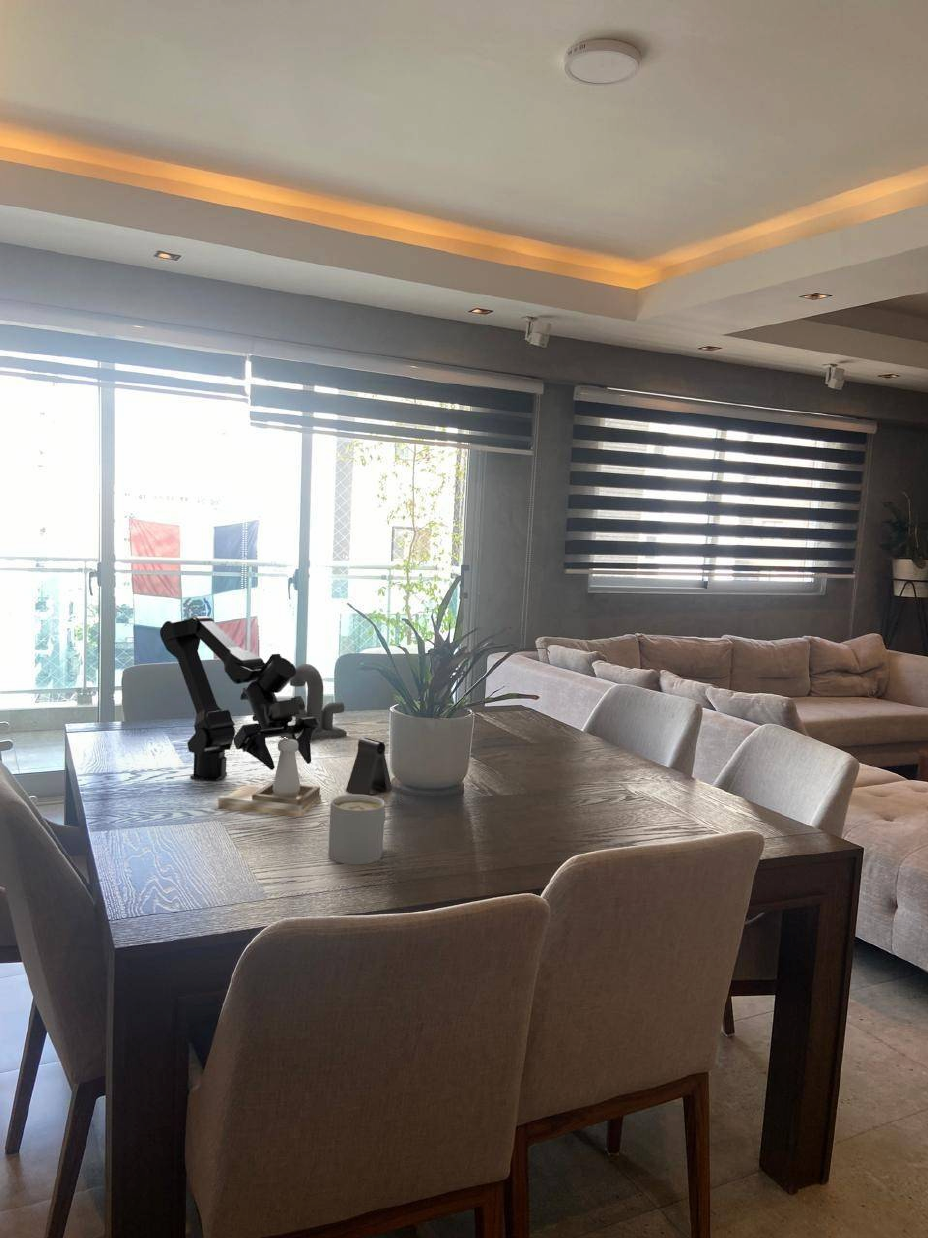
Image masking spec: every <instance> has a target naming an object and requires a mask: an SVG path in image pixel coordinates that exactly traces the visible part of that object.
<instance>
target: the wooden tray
mask: <svg viewBox="0 0 928 1238" xmlns="http://www.w3.org/2000/svg"><path fill="white" fill-rule="evenodd" d="M273 783H274V780H272V781H271V782H269V783H267V784H266V785H265V786H263V787H262V786H261V787H259V786H251V785H243V786H241V787H239V788H238V789H236V790H235V791H233V792H232V793H230V794H228V795H220V796H218V799H217V800H218V806H217V808H220V807H222V809H223V808H224V809H229V808H230V810H238V811H248V812H255V813H264V814H269V815H270V814H273V815H279V816H280V815H281V816H288V817H295V818H300V817H302V816H303V815H304V814H306V813H307V812H308V811H309V810H311V808H313V807H314V806H316V804H318V803H319V802H320V801H322V800H321V799H322V795H321V793H320V791H321V790H320V789H321V786H317V785H308V784H307V785H306V784H300V791H299V793H298V795H297V797H296V798H288V797H280V796H275V795H274V793H273V789H272V788H273ZM318 801H319V802H318ZM317 802H318V803H317ZM313 805H314V806H313ZM312 806H313V807H312ZM307 810H308V811H307ZM306 811H307V812H306Z"/></svg>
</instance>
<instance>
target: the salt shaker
mask: <svg viewBox="0 0 928 1238" xmlns="http://www.w3.org/2000/svg"><path fill="white" fill-rule="evenodd" d="M298 746H299V745H298V742H297V741H296V740H294V739H285V738H283V739H280V740H279V741H278V743H277V750H278V751H279V752H280V753H279V756H278V761H277V764H276V769H275V775H274V780H273V782H274V783H273V788H272V789H273V793H274V795H275V796H280V797H288V798H296V797H297V795H298V793H299V791H300V785H301V784H300V777H299V772H298V771H299V770H298V764H297V758H296V757H297V756H296V753H295V752H297V751H298Z"/></svg>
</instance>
